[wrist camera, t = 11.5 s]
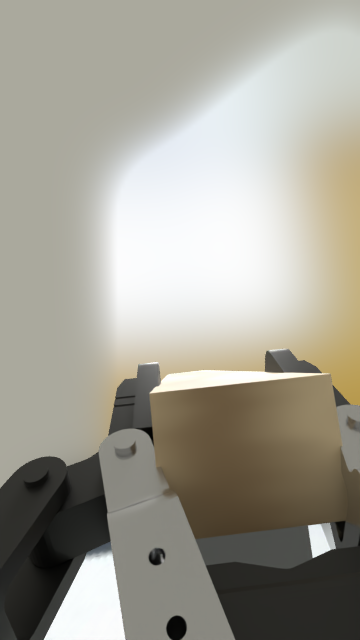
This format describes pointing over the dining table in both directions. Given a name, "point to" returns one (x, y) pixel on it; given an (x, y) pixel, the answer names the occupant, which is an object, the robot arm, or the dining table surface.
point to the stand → (259, 548)
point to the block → (250, 449)
